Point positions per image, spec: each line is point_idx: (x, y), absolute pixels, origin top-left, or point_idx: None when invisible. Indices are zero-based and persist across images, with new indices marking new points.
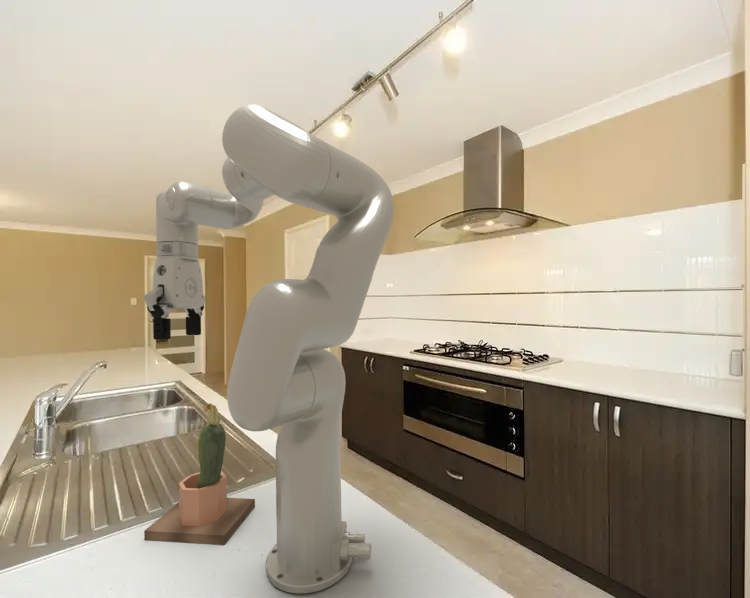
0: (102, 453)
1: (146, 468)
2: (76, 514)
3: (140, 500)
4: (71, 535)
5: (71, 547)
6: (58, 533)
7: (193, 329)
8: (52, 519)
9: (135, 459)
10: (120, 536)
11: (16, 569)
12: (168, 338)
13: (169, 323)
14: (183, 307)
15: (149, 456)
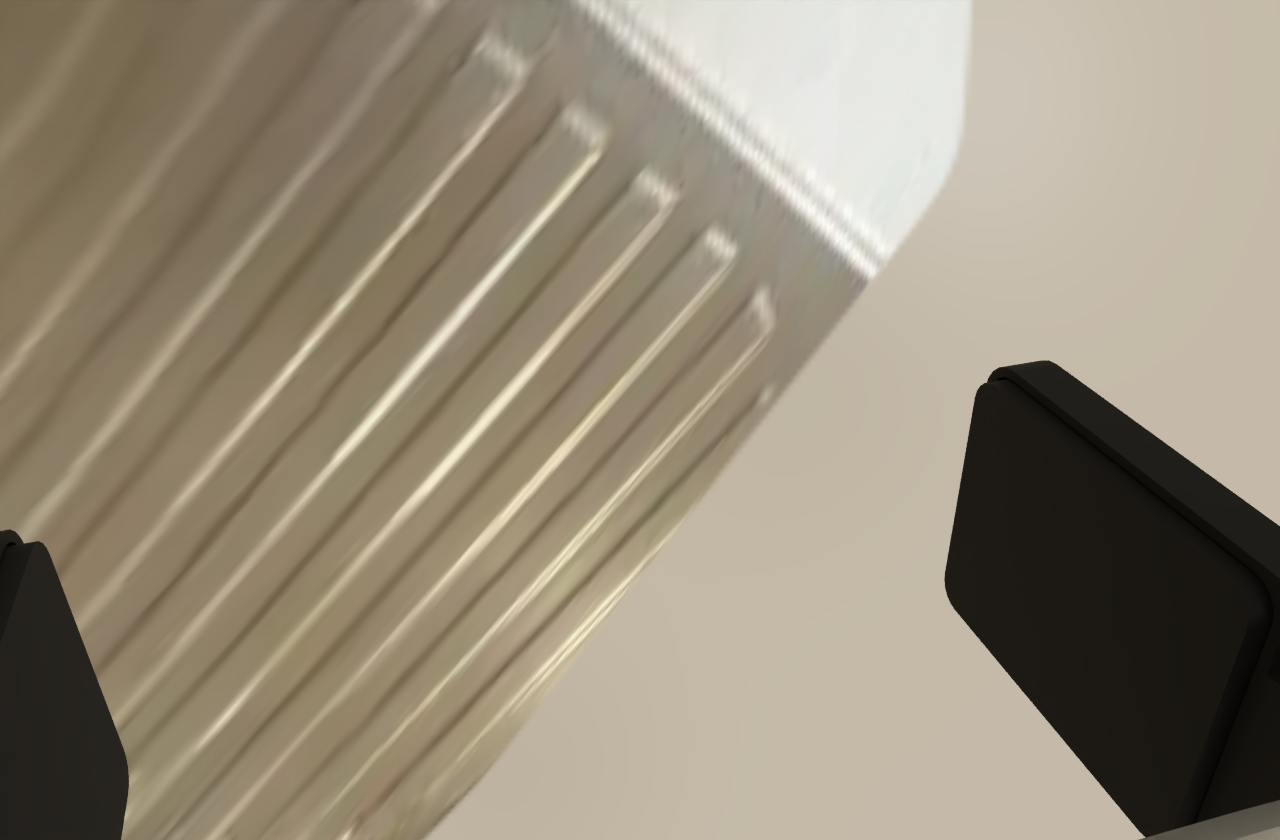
0: None
1: (143, 464)
2: (589, 373)
3: (445, 205)
4: (712, 252)
5: (775, 179)
6: (705, 311)
7: (54, 726)
8: (630, 424)
9: None
10: (705, 45)
11: (876, 244)
12: (1042, 362)
13: (1224, 515)
14: (1264, 815)
15: None
